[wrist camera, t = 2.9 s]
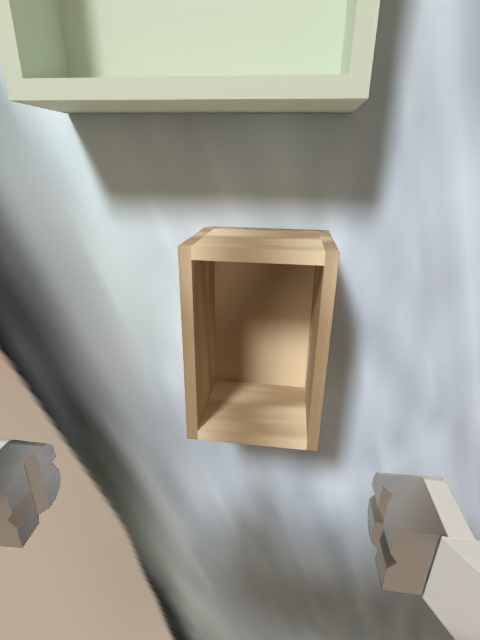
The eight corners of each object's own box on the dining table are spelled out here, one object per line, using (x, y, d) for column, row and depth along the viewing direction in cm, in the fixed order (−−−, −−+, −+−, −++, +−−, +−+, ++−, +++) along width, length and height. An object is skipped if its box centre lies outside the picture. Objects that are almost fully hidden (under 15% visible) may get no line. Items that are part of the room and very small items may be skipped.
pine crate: (328, 230, 18) (339, 252, 14) (312, 390, 22) (317, 451, 17) (205, 226, 19) (177, 246, 15) (209, 382, 23) (187, 438, 18)
